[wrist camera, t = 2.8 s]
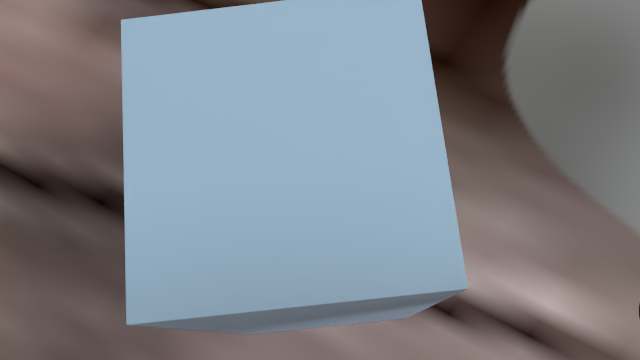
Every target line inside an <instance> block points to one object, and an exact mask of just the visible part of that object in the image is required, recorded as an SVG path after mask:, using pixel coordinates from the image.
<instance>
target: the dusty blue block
mask: <svg viewBox="0 0 640 360" xmlns="http://www.w3.org/2000/svg"><path fill="white" fill-rule="evenodd" d="M121 47H122V104H123V161H124V218H125V275H126V325H133V326H145V327H158V328H171V329H184V330H197V331H210V332H223V333H236V334H249V335H251V334H260V333H270V332H279V331H289V330H298V329H308V328H317V327H327V326H336V325H346V324H355V323H365V322H374V321H384V320H393V319H403V318H407V317H409V316H411V315H413V314H415V313H417V312H420V311H422V310H424V309H426V308H428V307H430V306H432V305H435V304H437V303H439V302H441V301H443V300H445V299H447V298H449V297H452V296H454V295H456V294H458V293H460V292H462V291H464V290H467V289H468V284H467V278H466V272H465V266H464V260H463V254H462V248H461V241H460V235H459V229H458V223H457V217H456V211H455V204H454V198H453V192H452V186H451V180H450V174H449V167H448V161H447V155H446V149H445V143H444V137H443V131H442V124H441V118H440V112H439V106H438V100H437V94H436V87H435V81H434V75H433V69H432V63H431V57H430V50H429V44H428V38H427V32H426V26H425V20H424V14H423V7H422V1H421V0H285V1H277V2H268V3H260V4H251V5H243V6H234V7H226V8H218V9H209V10H201V11H192V12H184V13H176V14H167V15H159V16H150V17H142V18H133V19H125V20H121Z"/></svg>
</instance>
